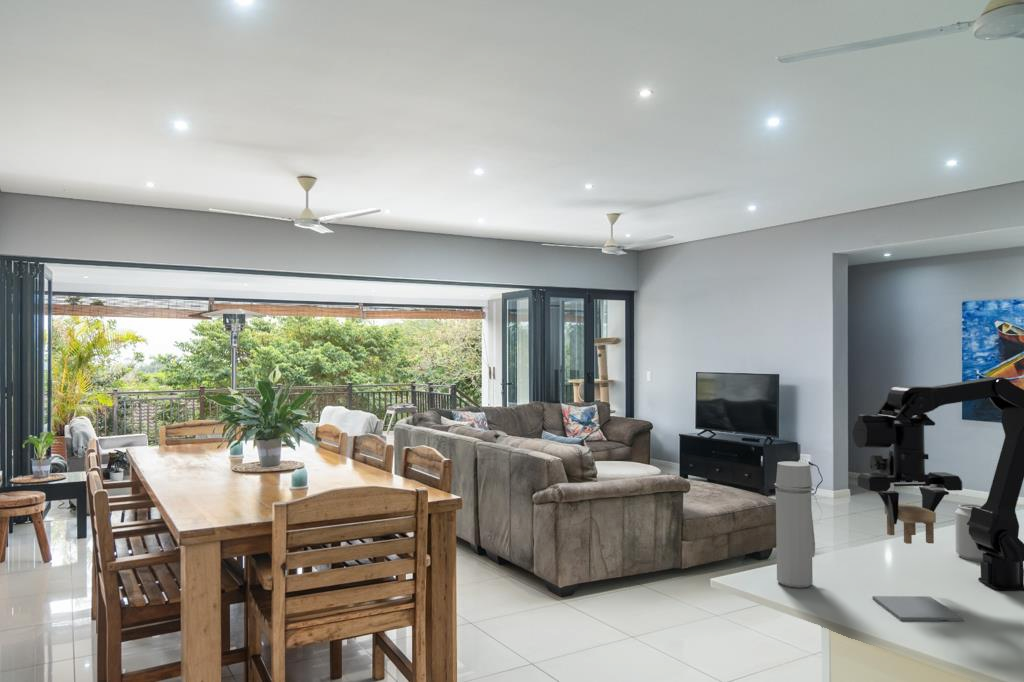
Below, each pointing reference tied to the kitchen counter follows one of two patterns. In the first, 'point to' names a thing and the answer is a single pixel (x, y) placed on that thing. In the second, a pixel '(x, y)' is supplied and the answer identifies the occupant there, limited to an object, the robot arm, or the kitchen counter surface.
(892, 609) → the gray panel
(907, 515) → the stool
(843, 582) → the kitchen counter surface
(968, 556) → the can
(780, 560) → the water bottle
